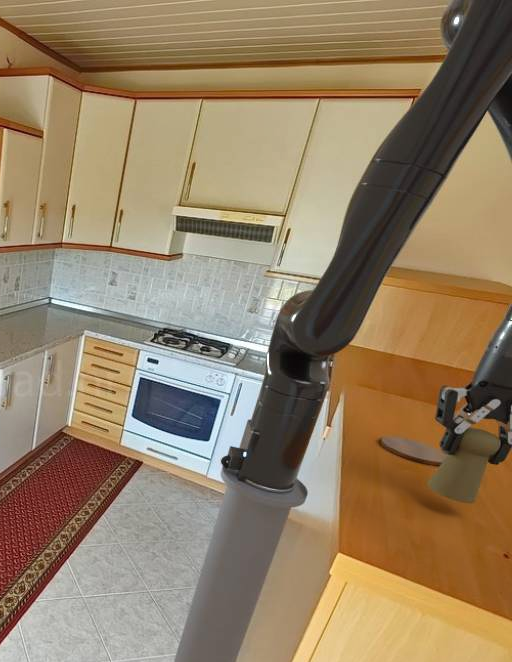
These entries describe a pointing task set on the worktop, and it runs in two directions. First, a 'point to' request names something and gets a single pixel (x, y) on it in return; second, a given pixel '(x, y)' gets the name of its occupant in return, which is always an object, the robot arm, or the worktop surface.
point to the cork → (465, 466)
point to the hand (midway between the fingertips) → (468, 457)
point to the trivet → (413, 450)
